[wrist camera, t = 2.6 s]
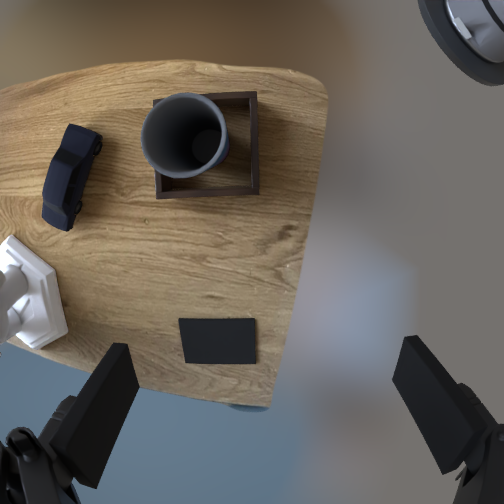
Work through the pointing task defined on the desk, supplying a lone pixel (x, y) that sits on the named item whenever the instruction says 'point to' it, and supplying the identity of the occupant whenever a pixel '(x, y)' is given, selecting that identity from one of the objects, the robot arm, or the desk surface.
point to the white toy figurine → (28, 297)
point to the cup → (184, 135)
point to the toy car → (69, 176)
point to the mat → (218, 340)
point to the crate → (250, 99)
